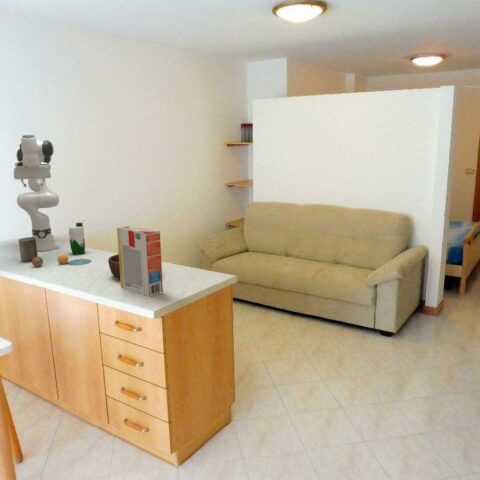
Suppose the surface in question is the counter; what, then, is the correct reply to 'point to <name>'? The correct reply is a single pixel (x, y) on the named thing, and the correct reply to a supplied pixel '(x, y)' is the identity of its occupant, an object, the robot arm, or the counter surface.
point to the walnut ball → (37, 261)
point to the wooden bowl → (114, 265)
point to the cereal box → (140, 260)
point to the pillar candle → (28, 249)
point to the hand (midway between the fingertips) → (33, 186)
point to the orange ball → (62, 258)
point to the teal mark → (79, 262)
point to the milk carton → (77, 239)
